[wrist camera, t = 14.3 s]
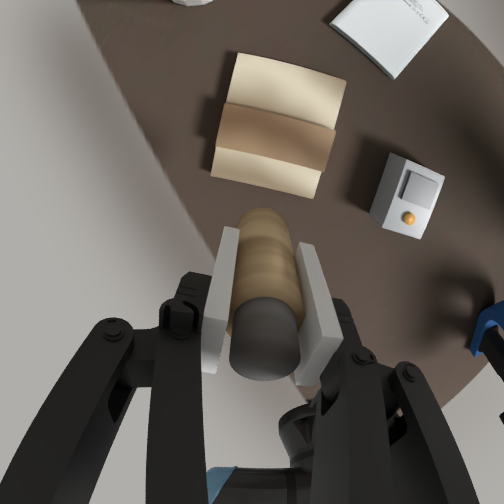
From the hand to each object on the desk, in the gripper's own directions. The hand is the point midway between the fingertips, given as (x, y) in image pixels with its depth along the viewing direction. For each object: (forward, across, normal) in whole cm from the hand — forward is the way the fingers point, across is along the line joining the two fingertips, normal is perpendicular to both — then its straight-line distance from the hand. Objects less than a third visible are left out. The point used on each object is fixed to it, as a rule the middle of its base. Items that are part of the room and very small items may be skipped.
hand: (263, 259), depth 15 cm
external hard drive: (+16, -9, -21) cm, 28 cm away
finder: (+15, -14, -3) cm, 21 cm away
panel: (+15, 0, -6) cm, 16 cm away
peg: (+4, 0, 0) cm, 4 cm away
